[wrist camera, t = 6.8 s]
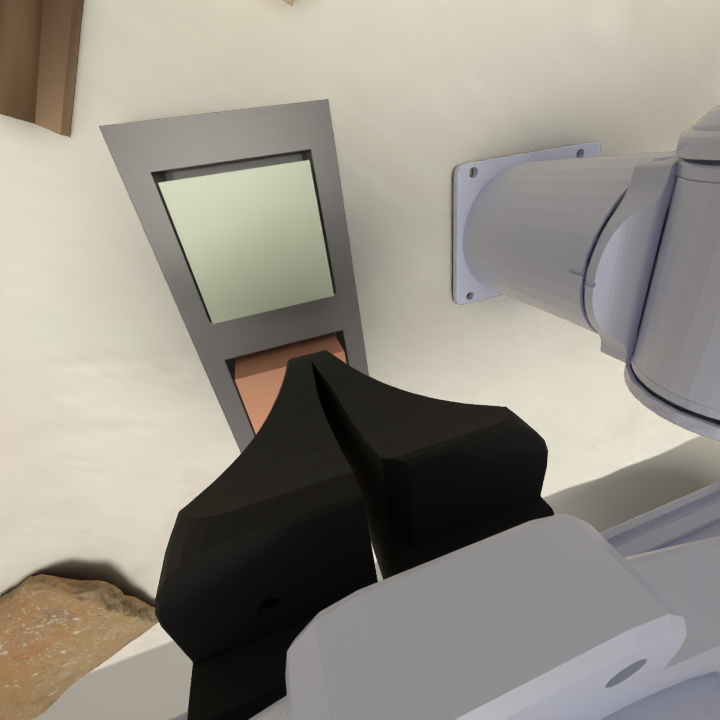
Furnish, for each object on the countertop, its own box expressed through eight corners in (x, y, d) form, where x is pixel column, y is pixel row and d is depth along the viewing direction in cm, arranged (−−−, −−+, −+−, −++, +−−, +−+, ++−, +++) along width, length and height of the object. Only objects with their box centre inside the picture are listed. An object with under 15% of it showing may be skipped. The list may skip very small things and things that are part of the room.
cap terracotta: (332, 331, 18) (344, 350, 16) (347, 406, 21) (358, 431, 19) (235, 355, 17) (234, 380, 15) (263, 431, 20) (266, 460, 18)
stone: (-131, 661, 22) (-184, 728, 19) (82, 541, 22) (59, 591, 20) (26, 696, 28) (2, 752, 25) (191, 601, 28) (185, 645, 26)
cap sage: (299, 163, 14) (309, 159, 12) (322, 281, 17) (334, 295, 15) (171, 182, 13) (157, 182, 11) (217, 305, 16) (212, 324, 14)
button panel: (314, 112, 15) (328, 99, 13) (362, 405, 24) (377, 432, 21) (125, 136, 14) (98, 126, 11) (249, 440, 22) (249, 473, 20)
